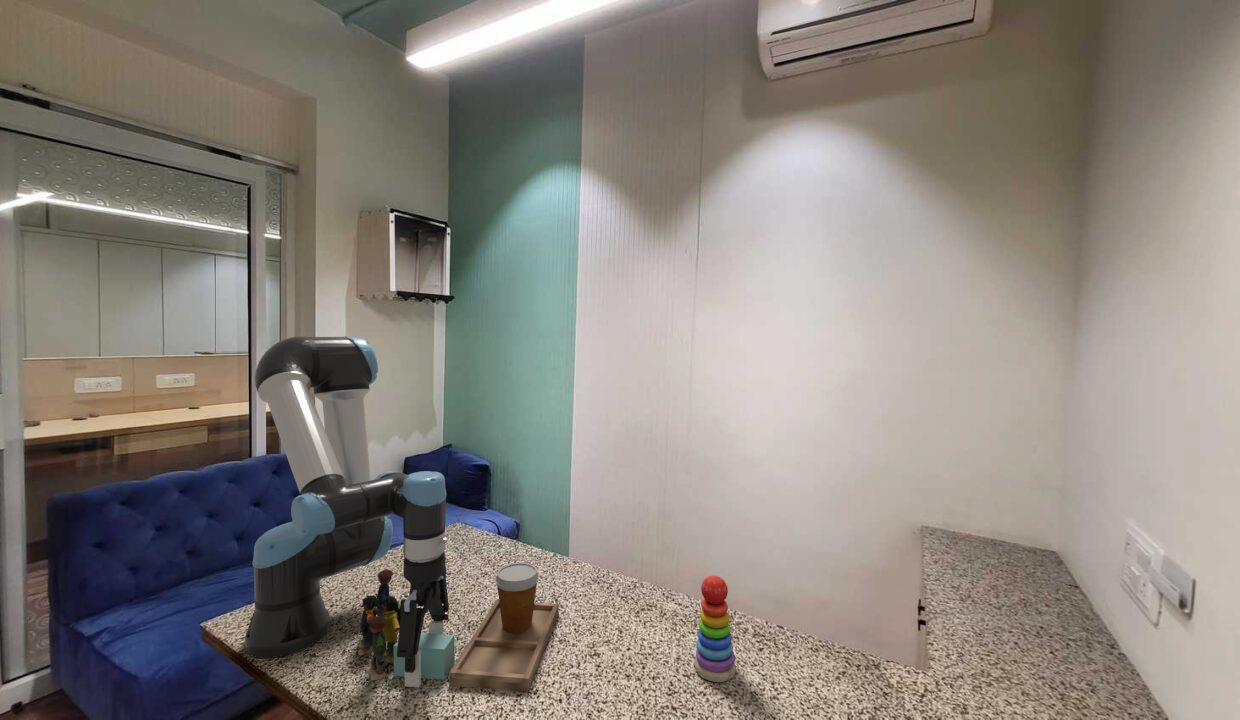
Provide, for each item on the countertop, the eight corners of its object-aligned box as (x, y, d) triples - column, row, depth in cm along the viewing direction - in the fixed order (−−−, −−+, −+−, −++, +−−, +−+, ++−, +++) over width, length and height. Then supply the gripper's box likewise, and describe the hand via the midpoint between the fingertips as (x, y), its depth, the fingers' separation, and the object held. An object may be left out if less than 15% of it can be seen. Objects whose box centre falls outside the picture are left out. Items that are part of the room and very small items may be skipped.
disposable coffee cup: (514, 643, 102) (514, 587, 102) (485, 627, 108) (485, 573, 108) (548, 623, 110) (548, 570, 109) (519, 608, 116) (519, 557, 115)
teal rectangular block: (393, 676, 95) (393, 645, 94) (406, 660, 99) (405, 631, 99) (444, 680, 94) (444, 649, 94) (454, 664, 98) (454, 635, 98)
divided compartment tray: (449, 685, 92) (449, 672, 92) (496, 610, 118) (496, 600, 117) (528, 691, 91) (528, 678, 91) (558, 614, 116) (558, 603, 116)
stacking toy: (706, 652, 103) (708, 563, 102) (742, 668, 98) (744, 575, 97) (686, 671, 97) (688, 577, 96) (723, 690, 92) (725, 591, 91)
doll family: (343, 631, 109) (342, 571, 108) (387, 616, 115) (386, 559, 114) (374, 688, 91) (373, 617, 91) (424, 667, 97) (423, 600, 97)
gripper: (415, 583, 84) (415, 711, 85) (466, 533, 106) (466, 636, 107) (373, 580, 85) (374, 707, 86) (432, 531, 106) (432, 634, 107)
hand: (425, 668), depth 96 cm, fingers open, 9 cm apart
